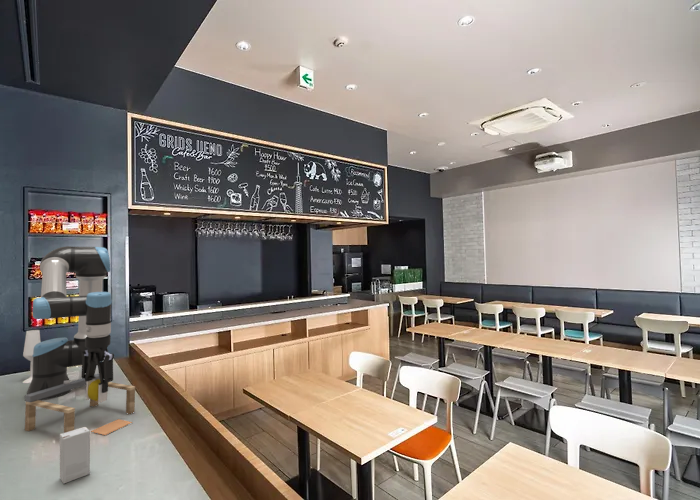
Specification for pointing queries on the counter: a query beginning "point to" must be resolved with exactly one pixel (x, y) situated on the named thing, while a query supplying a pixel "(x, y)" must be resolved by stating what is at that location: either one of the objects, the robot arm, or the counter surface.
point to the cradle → (69, 411)
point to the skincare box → (74, 454)
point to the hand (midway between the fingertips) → (96, 399)
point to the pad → (111, 427)
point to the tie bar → (57, 389)
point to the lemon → (93, 390)
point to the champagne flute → (30, 349)
